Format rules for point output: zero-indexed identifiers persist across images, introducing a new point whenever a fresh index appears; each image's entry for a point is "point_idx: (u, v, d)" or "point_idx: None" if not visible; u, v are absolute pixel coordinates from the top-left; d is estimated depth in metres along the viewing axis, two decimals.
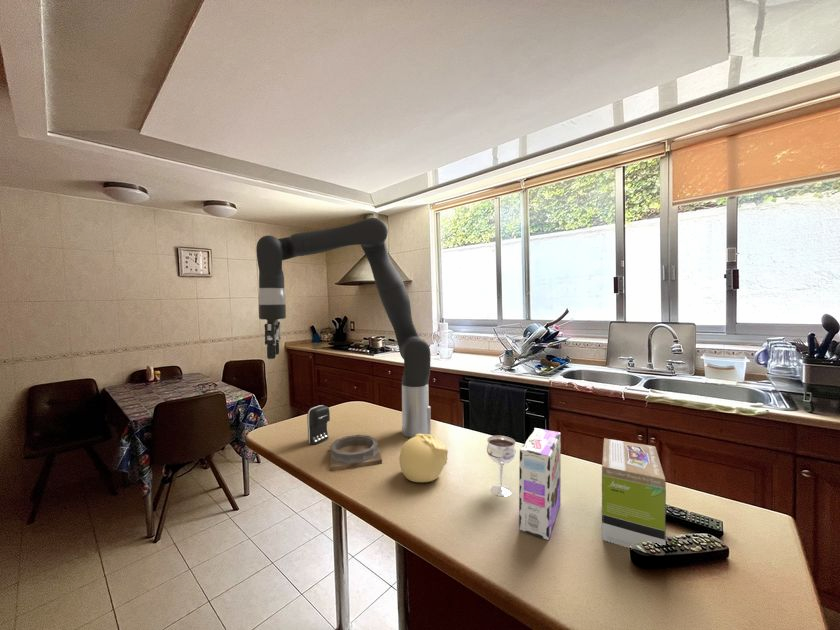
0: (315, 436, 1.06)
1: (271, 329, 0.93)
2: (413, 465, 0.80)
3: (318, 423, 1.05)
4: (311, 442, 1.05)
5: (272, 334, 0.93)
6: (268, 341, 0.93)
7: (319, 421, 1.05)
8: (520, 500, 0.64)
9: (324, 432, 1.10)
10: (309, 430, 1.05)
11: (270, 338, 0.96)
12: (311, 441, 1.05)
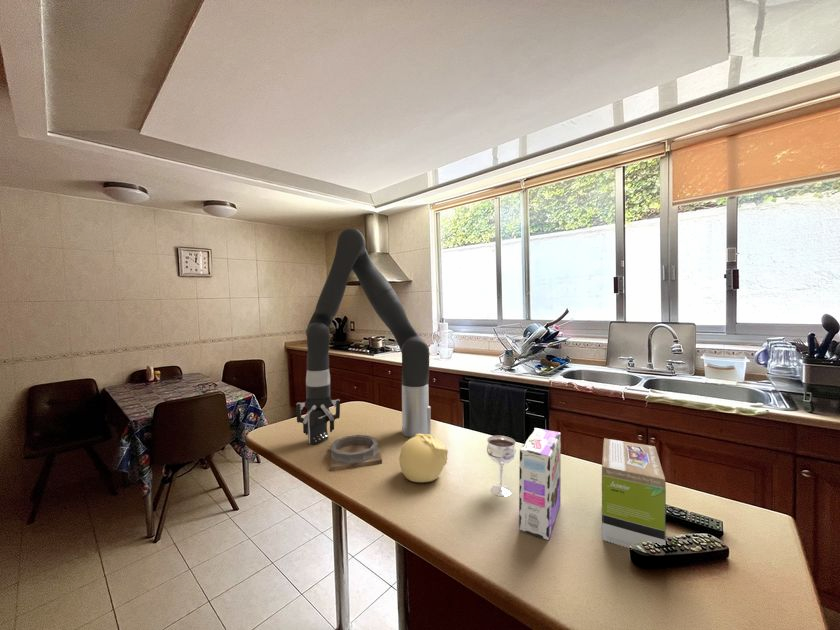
0: (315, 436, 1.06)
1: None
2: (413, 465, 0.80)
3: (318, 423, 1.05)
4: (311, 442, 1.05)
5: None
6: None
7: (319, 421, 1.05)
8: (520, 500, 0.64)
9: (324, 432, 1.10)
10: (309, 430, 1.05)
11: None
12: (311, 441, 1.05)
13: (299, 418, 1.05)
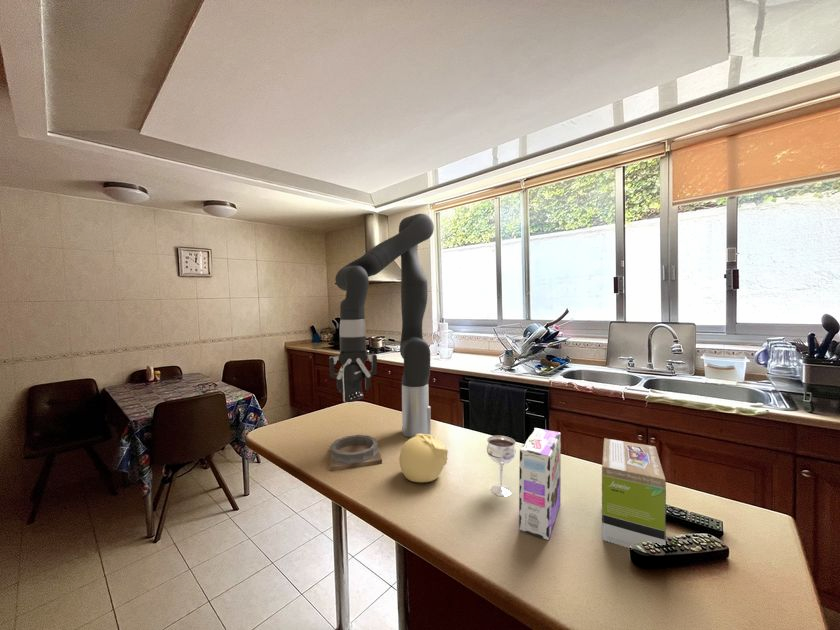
0: (350, 394, 0.95)
1: None
2: (413, 465, 0.80)
3: (354, 378, 0.94)
4: (346, 400, 0.94)
5: None
6: None
7: (354, 376, 0.94)
8: (520, 500, 0.64)
9: (359, 390, 0.99)
10: (344, 387, 0.94)
11: None
12: (346, 399, 0.94)
13: (333, 373, 0.94)
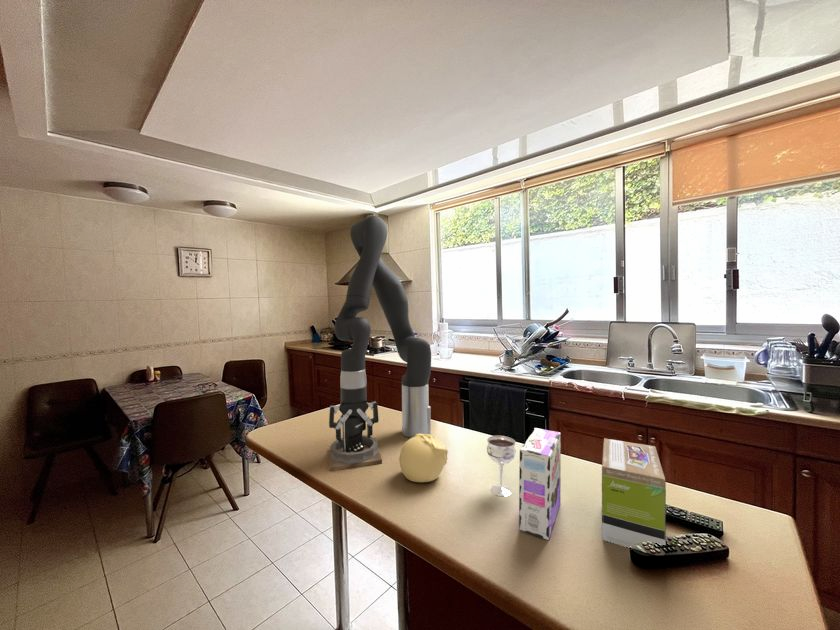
0: (351, 447, 0.96)
1: None
2: (413, 465, 0.80)
3: (355, 432, 0.94)
4: None
5: None
6: (377, 418, 0.99)
7: (355, 430, 0.95)
8: (520, 500, 0.64)
9: (360, 442, 0.99)
10: (345, 440, 0.95)
11: None
12: (347, 452, 0.95)
13: (332, 423, 0.94)
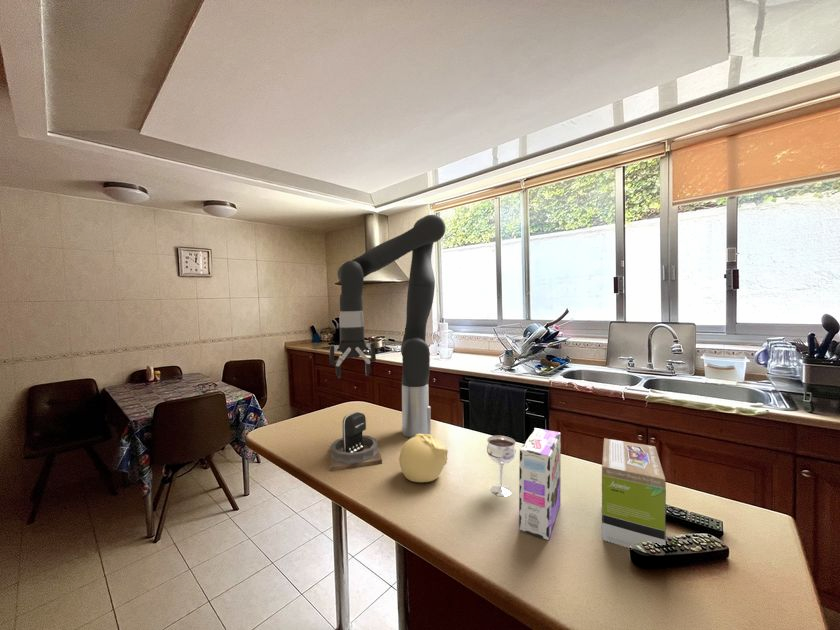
0: (351, 447, 0.96)
1: None
2: (413, 465, 0.80)
3: (355, 432, 0.94)
4: None
5: None
6: None
7: (355, 430, 0.95)
8: (520, 500, 0.64)
9: (360, 442, 0.99)
10: (345, 440, 0.95)
11: None
12: (347, 452, 0.95)
13: (332, 360, 1.00)
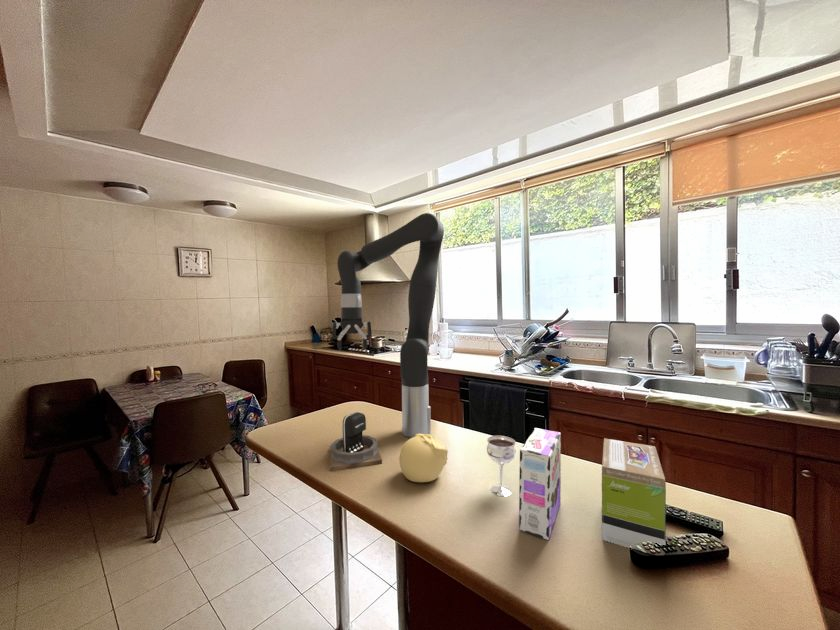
0: (351, 447, 0.96)
1: None
2: (413, 465, 0.80)
3: (355, 432, 0.94)
4: None
5: None
6: None
7: (355, 430, 0.95)
8: (520, 500, 0.64)
9: (360, 442, 0.99)
10: (345, 440, 0.95)
11: None
12: (347, 452, 0.95)
13: (334, 335, 1.19)
